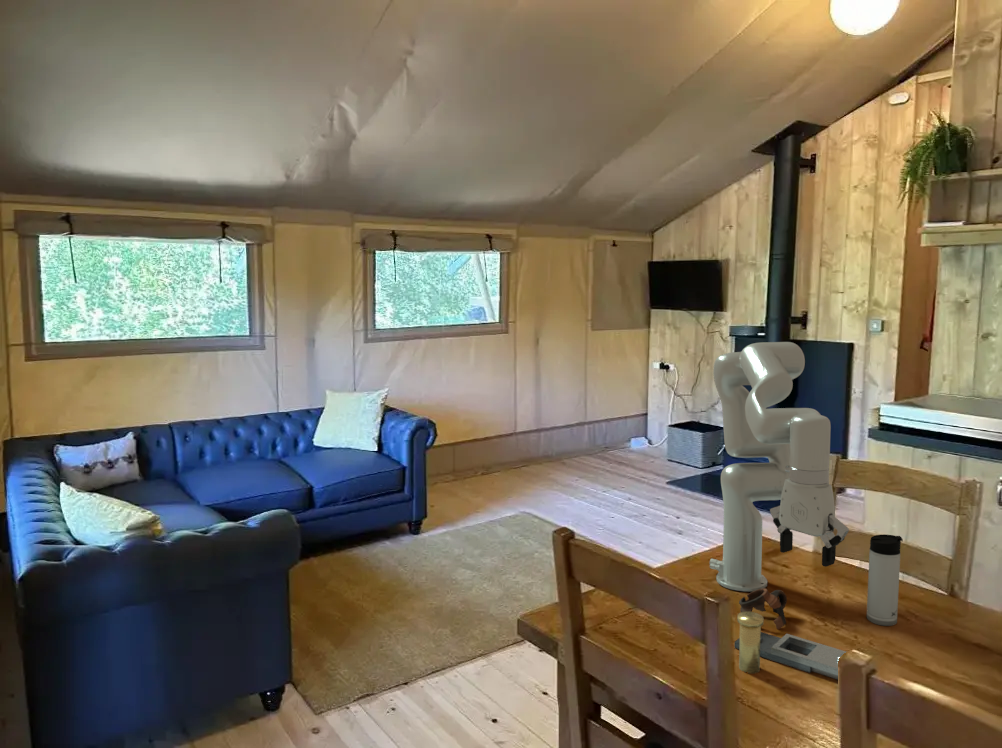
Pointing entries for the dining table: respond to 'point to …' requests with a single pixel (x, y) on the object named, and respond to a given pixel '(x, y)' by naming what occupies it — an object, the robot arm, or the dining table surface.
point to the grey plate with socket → (817, 654)
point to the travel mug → (883, 579)
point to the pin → (749, 641)
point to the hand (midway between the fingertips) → (806, 557)
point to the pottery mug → (762, 595)
